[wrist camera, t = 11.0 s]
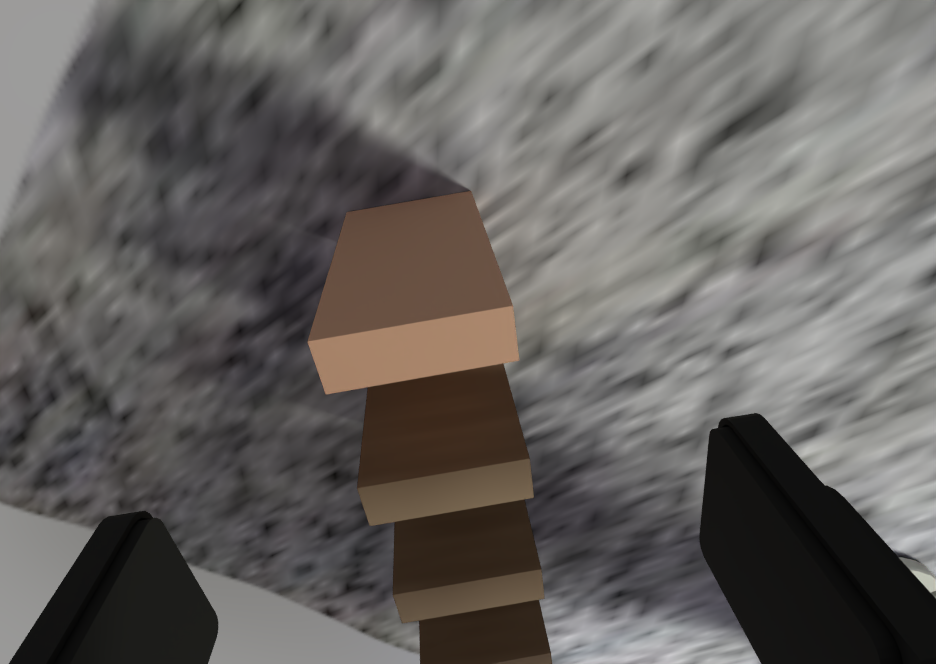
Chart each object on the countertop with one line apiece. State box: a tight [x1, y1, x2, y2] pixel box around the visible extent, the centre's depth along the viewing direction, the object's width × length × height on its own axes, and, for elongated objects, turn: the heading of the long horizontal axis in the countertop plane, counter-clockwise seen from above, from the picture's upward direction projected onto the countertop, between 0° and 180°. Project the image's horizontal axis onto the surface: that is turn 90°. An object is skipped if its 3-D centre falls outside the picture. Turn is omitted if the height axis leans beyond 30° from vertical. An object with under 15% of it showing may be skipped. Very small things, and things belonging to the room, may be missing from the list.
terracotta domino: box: [308, 191, 519, 394], centre depth 18 cm, size 2×5×10 cm, turn 98°
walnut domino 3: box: [419, 600, 552, 664], centre depth 26 cm, size 2×5×10 cm, turn 98°
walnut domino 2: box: [393, 500, 545, 623], centre depth 23 cm, size 2×5×10 cm, turn 98°
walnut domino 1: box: [357, 363, 534, 526], centre depth 20 cm, size 2×5×10 cm, turn 98°
